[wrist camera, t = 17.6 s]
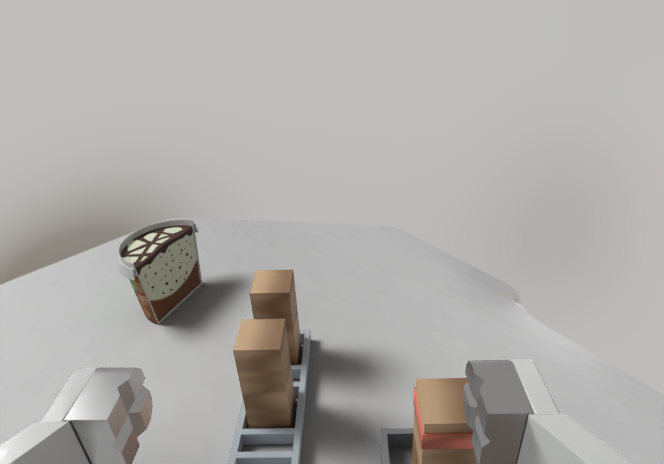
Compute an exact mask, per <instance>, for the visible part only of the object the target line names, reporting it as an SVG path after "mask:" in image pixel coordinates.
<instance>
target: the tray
mask: <svg viewBox="0 0 664 464" xmlns="http://www.w3.org/2000/svg"><path fill="white" fill-rule="evenodd" d="M412 445H413V429H381V455H382V464H411V462H412ZM477 464H478V462H477Z"/></svg>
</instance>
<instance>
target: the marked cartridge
mask: <svg viewBox="0 0 664 464" xmlns="http://www.w3.org/2000/svg"><path fill="white" fill-rule="evenodd" d="M467 382H468V380H467V378H446V379H416V387H414V407H415V411H414V428H413V445H412V462H411V464H477V458H476V455H475V451H474V448H473V444H472V436H473V430H472V429H471V428H470V427H469V426H468V425H467V422H466V418H465V413H464V408H463V388H464V385H465V384H466V383H467Z"/></svg>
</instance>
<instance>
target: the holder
mask: <svg viewBox="0 0 664 464" xmlns="http://www.w3.org/2000/svg"><path fill="white" fill-rule="evenodd" d="M299 331H300V340H301V343H304V345H303V355H302V364H301V365H291V371H292V379H300V382H293V387H294V395H295V397H298V403H297V412H296V422H295V428H269V429H247V424H248V420H247V415H246V410H245V405H244V400H242V405H241V409H240V413H239V418H238V422H237V426H236V431H235V435H234V439H233V444H232V448H231V452H230V457H229V461H228V464H300V461H301V450H302V438H303V426H304V415H305V403H306V391H307V379H308V368H309V356H310V344H311V335H310V330H299ZM263 444H293V451H265V452H242V448H243V445H263Z"/></svg>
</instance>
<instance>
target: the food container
mask: <svg viewBox="0 0 664 464" xmlns="http://www.w3.org/2000/svg"><path fill="white" fill-rule="evenodd" d="M195 232H198V230H197V227H196V225H195V224H194V222H193V220H169V221H163V222H159V223H155V224H151V225H148V226H146V227H143V228H141V229H139V230H137V231H135V232H133V233H132V234H130V235H129V236H128V237H126V238H125V239H124V240H123V241H122V243H121V244H120V246H119V249H118V254H117V261H118V269H119V271H120V273H121V274H122V275H123V276H124V277H126V278H128V279H129V280H130V282H131V285H132V287H133V289H134V291H135V294H136V296H137V298H138V300H139V302H140V305H141V307H142V309H143V311H144V314H145V316H146V317H147V319H148V320H150V321H151V322H153V323H155V324H160V323H161V322H162V321H163V320H164V319H165V318H166V317H167V316H168V315H169V314H170V313H171V312H173V311H174V310H175V309H176V308H177V307H178V306H179V305H180V304H181V303H182V302H183V301H184V300H186V299H187V298H188V297H189V296H190V295H191V294H192V293H193V292H194V291H195V290H196V289H197V288H199V287H200V286H201V285H202V279H201V272H200V265H199V258H198V250H197V243H196V236H195Z"/></svg>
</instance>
